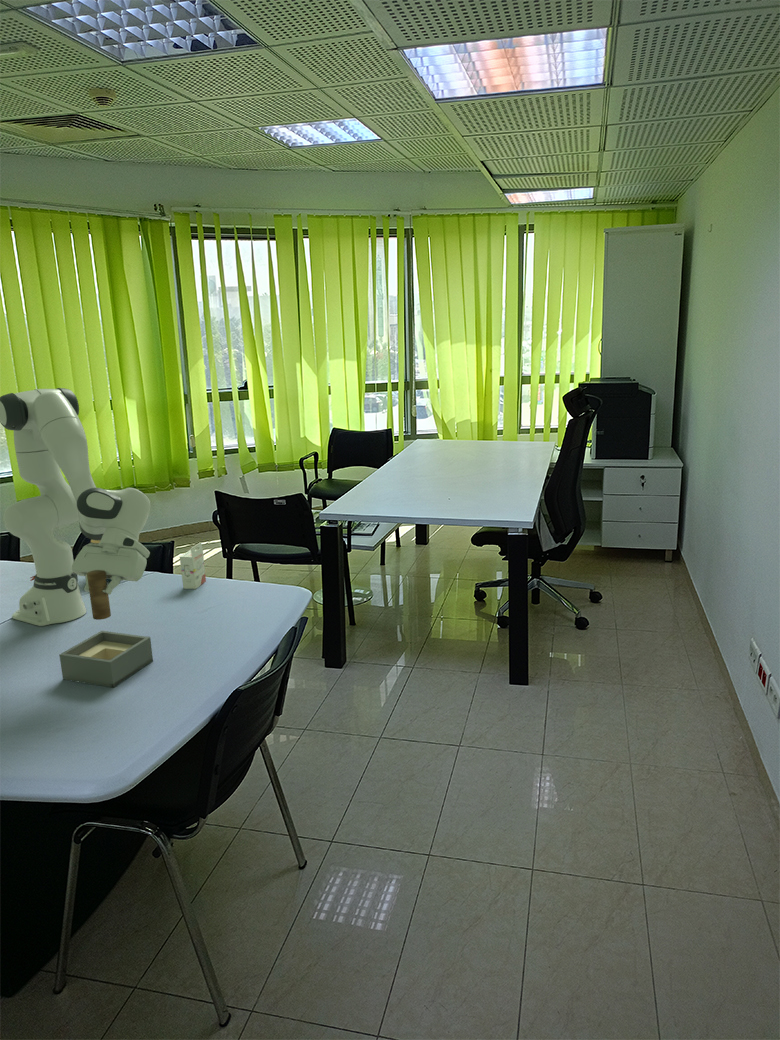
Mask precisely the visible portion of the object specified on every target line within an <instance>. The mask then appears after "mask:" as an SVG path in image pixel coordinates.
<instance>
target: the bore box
mask: <svg viewBox="0 0 780 1040" xmlns="http://www.w3.org/2000/svg"><path fill="white" fill-rule="evenodd" d="M58 656H59V661H60V669H61V675H62V680H63V679H65V681H70V680H72V681H71V682H76V681H79V682H78V683H82V682H85V683H84V684H88V683H90V684H89V685H94V684H96V685H95V686H100V685H102V687H108V688H112V689H113V688H117V686H118V685H120V684H121V683H123V682H124V681H126V680H127V679H129V678H131V677H132V676H133V675H134V674H136V673H137V672H138V673H139V671H141V670H142V669H144V668H145V667H146V666H148V665H149V664H151V663H153V661H154V659H153V658H154V657H153V649H152V640H151V637H150V636H144V635H139V634H138V635H137V634H130V633H122V632H115V631H106V630H100V631H98V632H96V633H95V634H93V635H91V636H90V637H88V638H87V639H86V638H85V640H82V641H80V642H79V643H78V644H75V645H73V646H72V647H70V648H69V649H67V650H64V651H63V652H61V653H60V654H59V655H58Z"/></svg>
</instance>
